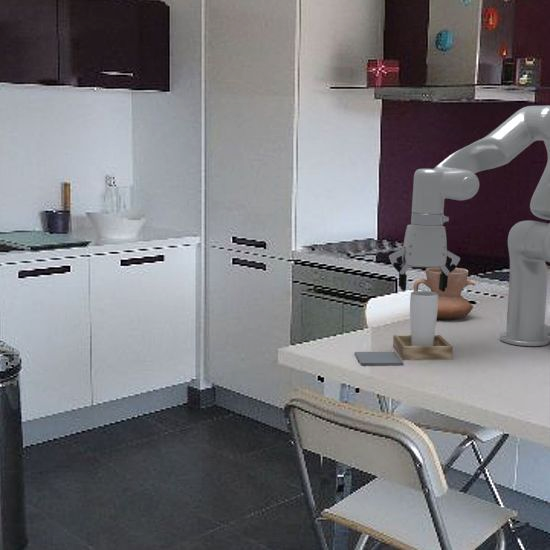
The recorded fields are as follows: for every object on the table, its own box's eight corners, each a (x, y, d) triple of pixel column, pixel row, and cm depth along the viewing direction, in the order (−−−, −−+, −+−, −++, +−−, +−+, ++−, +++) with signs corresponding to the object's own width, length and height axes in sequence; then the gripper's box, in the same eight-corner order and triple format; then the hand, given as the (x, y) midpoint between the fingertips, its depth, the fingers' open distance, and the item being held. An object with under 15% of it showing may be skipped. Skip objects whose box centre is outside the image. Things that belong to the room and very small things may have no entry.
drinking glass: (435, 357, 206) (438, 296, 203) (407, 355, 207) (409, 295, 204) (436, 350, 212) (438, 291, 210) (408, 348, 213) (411, 290, 211)
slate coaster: (394, 353, 208) (394, 351, 208) (403, 365, 198) (403, 362, 198) (354, 354, 207) (354, 351, 207) (361, 365, 198) (361, 363, 197)
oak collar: (439, 346, 216) (440, 334, 215) (452, 359, 204) (452, 347, 204) (393, 346, 215) (393, 335, 214) (403, 359, 203) (403, 347, 203)
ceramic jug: (475, 313, 254) (477, 267, 252) (473, 323, 241) (475, 274, 238) (415, 310, 259) (416, 264, 257) (410, 320, 245) (411, 272, 243)
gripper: (457, 219, 208) (453, 288, 211) (388, 217, 207) (384, 286, 210) (466, 223, 201) (461, 293, 203) (394, 221, 199) (390, 292, 202)
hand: (422, 290), depth 207 cm, fingers open, 9 cm apart
